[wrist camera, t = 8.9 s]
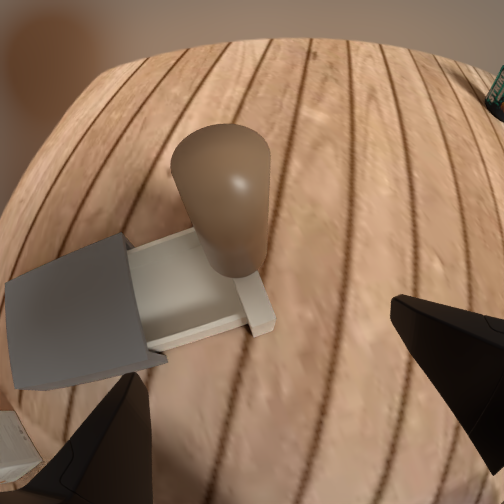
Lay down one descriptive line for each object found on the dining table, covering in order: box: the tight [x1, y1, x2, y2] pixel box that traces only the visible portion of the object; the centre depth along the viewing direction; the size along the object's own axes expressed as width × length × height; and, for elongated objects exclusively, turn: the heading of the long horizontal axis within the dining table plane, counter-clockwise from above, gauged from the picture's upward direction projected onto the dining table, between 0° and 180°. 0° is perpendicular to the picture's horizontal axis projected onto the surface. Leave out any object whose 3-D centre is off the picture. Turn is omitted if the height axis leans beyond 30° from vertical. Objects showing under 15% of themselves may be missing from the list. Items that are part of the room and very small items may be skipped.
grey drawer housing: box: [5, 232, 168, 391], centre depth 20 cm, size 14×10×4 cm
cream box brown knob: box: [127, 124, 276, 353], centre depth 17 cm, size 16×10×14 cm, turn 110°
